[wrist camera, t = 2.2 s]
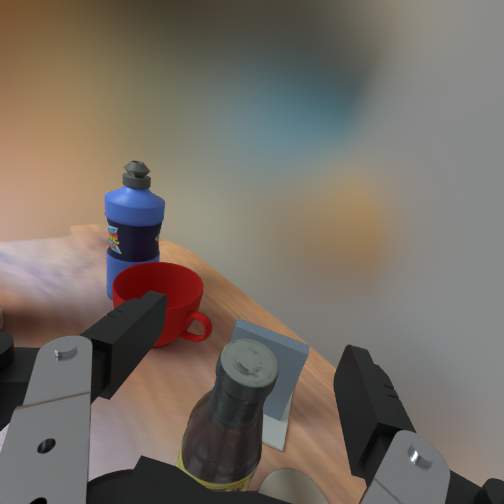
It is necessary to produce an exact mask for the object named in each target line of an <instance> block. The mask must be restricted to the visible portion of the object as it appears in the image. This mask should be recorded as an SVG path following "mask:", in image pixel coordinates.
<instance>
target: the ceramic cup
mask: <svg viewBox="0 0 504 504" xmlns="http://www.w3.org/2000/svg"><path fill="white" fill-rule="evenodd" d="M148 291H154V292H158V293H161V294H165V295H167V298H168V299H167V308H166V316H165V324H164V328H163V331H162V334H161V336H160V337H159V339H158V340H157V341H156V343H155V344H154V345H153V346H152V347H161V346H164V345H167V344H168V343H170V342H172V341H174V340H176V339H177V338H179V337H181V338H183V339H186V340H189V341H193V342H200V341H203V340H205V339H206V338H208V337H209V335H210V334H211V332H212V324H211V321H210V319H209V318H208V317H207V316H206V315H204V314H203V313H200V312H197V311H198V308H199V305H200V301H201V298H202V293H203V283H202V280H201V279H200V277H199V276H198V275H197V274H196V273H195V272H193V271H192V270H190V269H188V268H186V267H183V266H180V265H177V264H173V263H166V262H148V263H141V264H137V265H133V266H131V267H128V268H126V269H125V270H123V271H121V272H120V273H119V274H118V275H117V276H116V277H115V279H114V281H113V285H112V296H113V304H114V309H115V308H116V307H118V306H119V305H120V304H122V303H123V302H126V301H128V300H131V299H134V298H136V299H140V298H141V297H142V296H143V295H145V294H146V293H147V292H148ZM194 319H197V320H198V321H200V322H201V323H202V325H203V326H204V330H205V333H204V335H196V334H192V333H189V332H187V331H186V330H187V329H188V328H189V326H190V325H191V324H192V322H193V320H194Z"/></svg>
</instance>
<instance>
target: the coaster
mask: <svg viewBox="0 0 504 504" xmlns="http://www.w3.org/2000/svg"><path fill="white" fill-rule="evenodd" d="M258 493H261V494H264V495H267V496H270V497H273V498H276V499H280V500H283V501H286V502H289V503H292V504H328V502H327V500H326V499H325V497H324V495H323V493H322V492H321V490H320V489H319V487H318V486H317V485H316V484H315V483H314V482H313V481H312V480H311V479H310V478H309V477H308V476H306V475H305V474H304V473H302V472H300V471H298V470H295V469H291V468H281V469H278V470H275V471H273V472H272V473H270V474H269V475H268V476H267V477H266V478H265V480H264V481H263V483H262V484H261V486H260V488H259V491H258Z"/></svg>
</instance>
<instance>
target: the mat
mask: <svg viewBox="0 0 504 504" xmlns="http://www.w3.org/2000/svg"><path fill="white" fill-rule="evenodd" d="M214 385H215V383H214ZM214 385H213V387H214ZM213 387H212V388H213ZM211 390H212V389H211ZM292 394H293V392H292ZM292 394H291V396H290V399H289V401H288V403H287V406H286V408H285V411H284V413H283V415H282V418H281V420H280V421H278V420H276V419H274V418H271V417H269V416H267V415H265V414H263V432H262V443H264V444H266V445H268V446H270V447H272V448H274V449H276V450H278V451H280V452H282V451H283V447H284V441H285V435H286V429H287V424H288V418H289V412H290V406H291V400H292Z"/></svg>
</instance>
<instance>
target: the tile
mask: <svg viewBox="0 0 504 504" xmlns="http://www.w3.org/2000/svg"><path fill="white" fill-rule="evenodd" d="M242 338H243V339H252V340H255V341H258V342H259V343H262V344H264V345H265V346H266V347H268V348H269V349H270V350H271V351H272V352H273V354H274V355H275V357H276V359H277V361H278V366H279V373H278V377H277V380H276V383H275V386H274V388H273V390H272V392H271V393H270V394H269V395H268V396H267V397H266V400H265V402H264V405H263V414H265V415H267V416H269V417H271V418H274V419H276V420H278V421H280V420H281V418H282V415H283V413H284V411H285V408H286V406H287V403H288V401H289V399H290V396H291V394H292V392H293V389H294V387H295V385H296V382H297V380H298V378H299V375H300V373H301V371H302V368H303V366H304V364H305V361H306V359H307V357H308V353H309V345H307V344H304V343H302V342H299V341H297V340H294V339H292V338H289V337H286V336H284V335H281V334H279V333H276V332H274V331H271V330H268V329H266V328H263V327H261V326H258V325H256V324H253V323H251V322H248V321H245V320H243V319H240V318H238V320H237V322H236V323H235V325H234V328H233V332H232V337H231V341H233V340H237V339H242Z"/></svg>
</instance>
